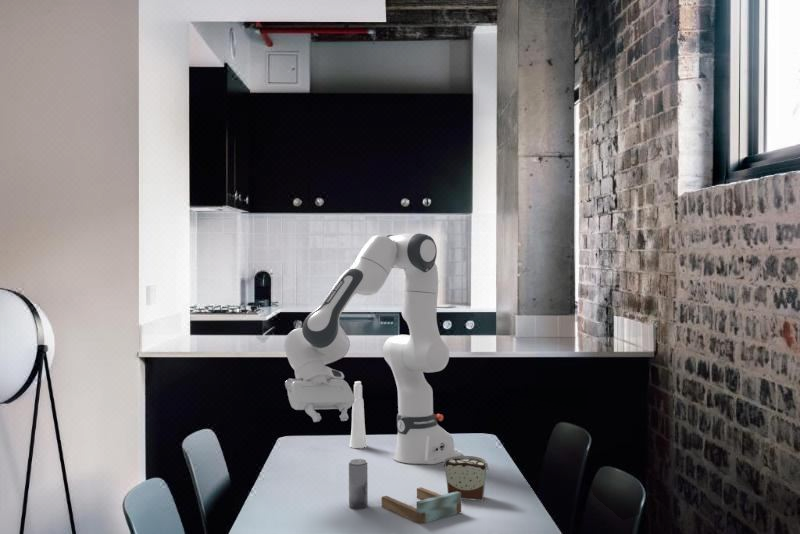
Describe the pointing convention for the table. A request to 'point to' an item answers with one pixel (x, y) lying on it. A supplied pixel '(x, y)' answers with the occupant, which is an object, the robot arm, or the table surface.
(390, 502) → the keeper cradle
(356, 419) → the cosmetic bottle
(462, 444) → the table surface
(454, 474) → the food container
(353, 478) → the drinking glass
